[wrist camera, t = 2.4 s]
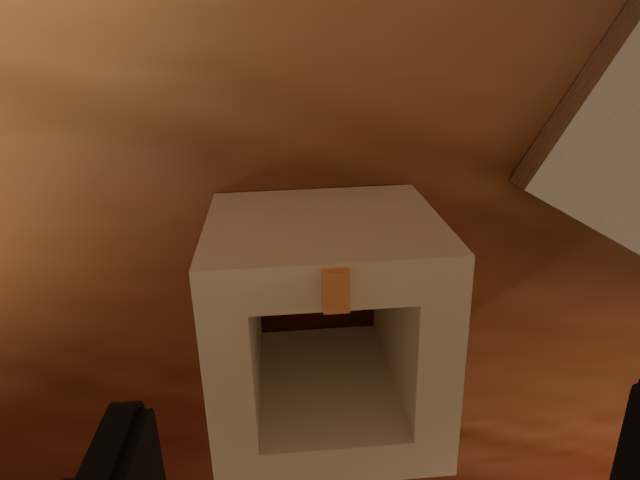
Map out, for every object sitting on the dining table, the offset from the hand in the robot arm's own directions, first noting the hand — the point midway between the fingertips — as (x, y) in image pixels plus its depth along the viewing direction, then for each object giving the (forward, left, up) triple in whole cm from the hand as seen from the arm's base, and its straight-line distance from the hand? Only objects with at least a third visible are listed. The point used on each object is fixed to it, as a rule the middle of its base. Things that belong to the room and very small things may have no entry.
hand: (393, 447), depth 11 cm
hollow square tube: (-1, +1, -9) cm, 9 cm away
